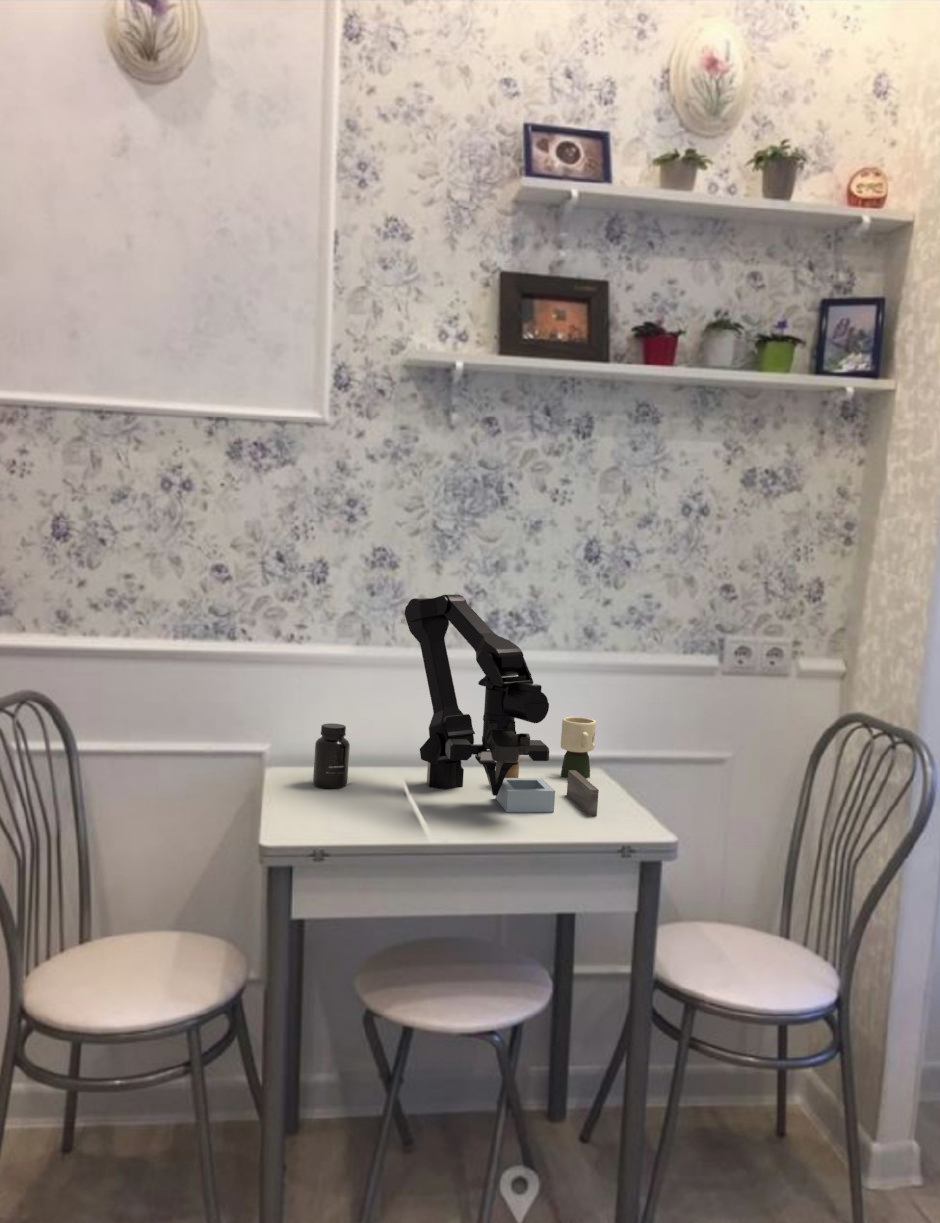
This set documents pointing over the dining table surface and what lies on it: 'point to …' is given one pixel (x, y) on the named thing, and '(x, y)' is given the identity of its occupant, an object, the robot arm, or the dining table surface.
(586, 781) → the base board
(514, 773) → the dowel
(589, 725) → the character mug
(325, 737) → the supplement bottle
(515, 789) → the sliding block
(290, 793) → the dining table surface
